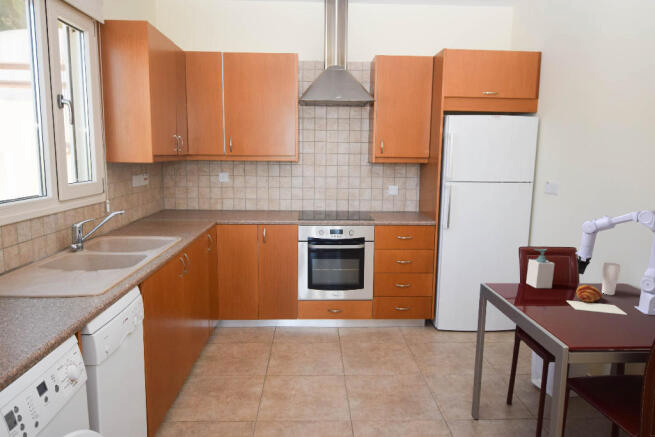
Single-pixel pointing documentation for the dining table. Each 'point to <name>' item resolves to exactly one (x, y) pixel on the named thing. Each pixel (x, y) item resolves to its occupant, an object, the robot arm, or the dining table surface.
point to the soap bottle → (540, 271)
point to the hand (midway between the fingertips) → (581, 272)
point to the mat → (596, 307)
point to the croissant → (588, 293)
